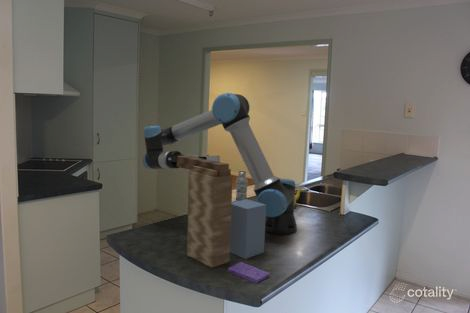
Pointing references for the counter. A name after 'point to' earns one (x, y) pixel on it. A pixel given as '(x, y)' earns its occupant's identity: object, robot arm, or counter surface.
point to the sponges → (248, 272)
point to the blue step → (247, 228)
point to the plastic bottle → (241, 186)
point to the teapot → (297, 195)
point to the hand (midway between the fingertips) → (208, 158)
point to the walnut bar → (203, 164)
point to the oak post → (209, 216)
